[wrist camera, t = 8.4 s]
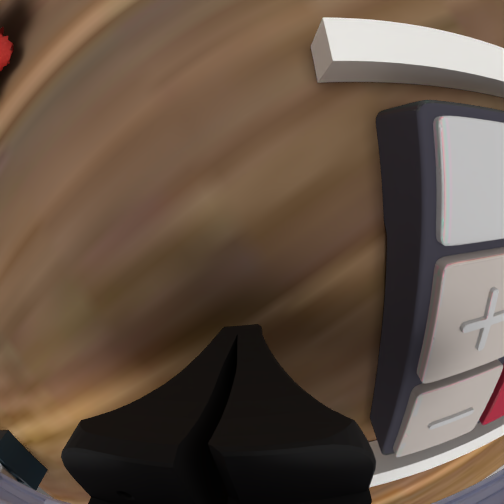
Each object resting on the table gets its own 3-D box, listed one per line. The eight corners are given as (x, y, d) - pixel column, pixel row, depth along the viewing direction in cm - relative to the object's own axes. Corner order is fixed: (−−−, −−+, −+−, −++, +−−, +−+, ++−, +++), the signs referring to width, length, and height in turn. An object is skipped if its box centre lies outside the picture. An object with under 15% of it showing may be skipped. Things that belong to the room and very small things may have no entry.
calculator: (383, 470, 10) (429, 93, 6) (364, 410, 15) (371, 110, 10) (537, 403, 10) (598, 137, 5) (506, 365, 14) (542, 130, 9)
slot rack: (514, 399, 14) (529, 418, 11) (334, 461, 15) (340, 493, 12) (549, 86, 8) (578, 83, 6) (310, 46, 9) (322, 17, 7)
